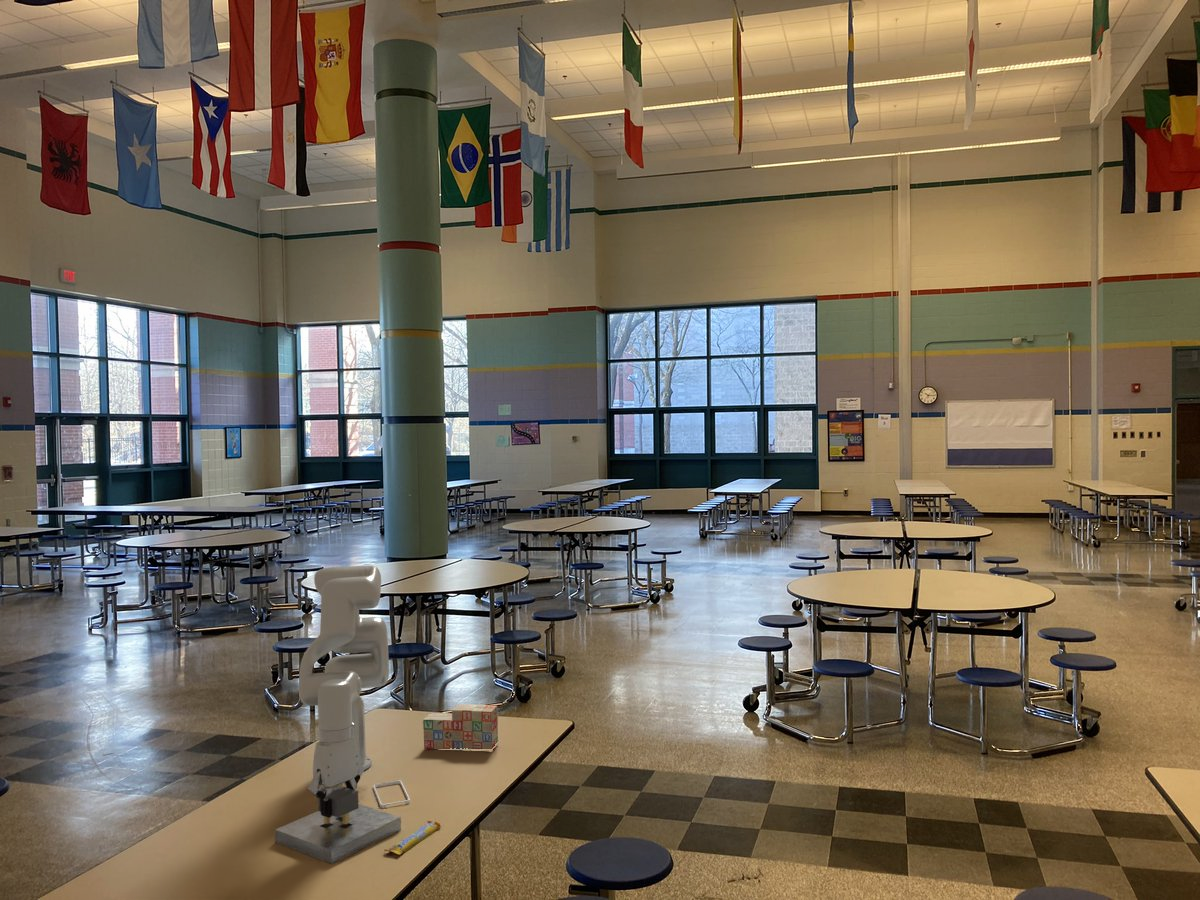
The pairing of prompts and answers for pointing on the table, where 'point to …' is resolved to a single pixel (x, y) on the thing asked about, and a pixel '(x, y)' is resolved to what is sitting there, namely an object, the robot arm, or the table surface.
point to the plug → (342, 803)
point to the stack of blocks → (462, 728)
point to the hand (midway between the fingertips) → (338, 810)
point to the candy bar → (414, 838)
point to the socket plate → (337, 833)
